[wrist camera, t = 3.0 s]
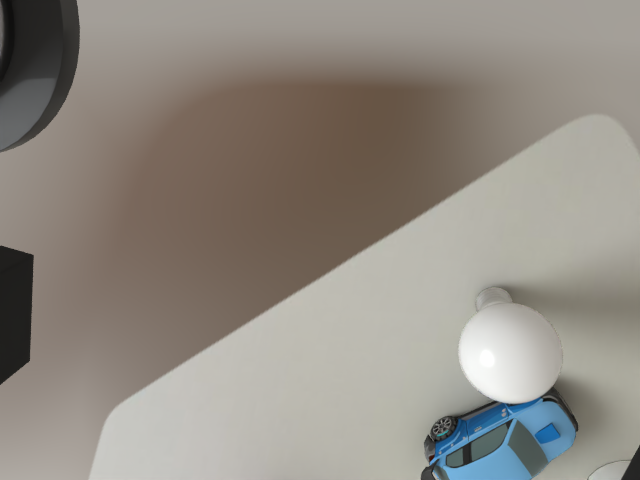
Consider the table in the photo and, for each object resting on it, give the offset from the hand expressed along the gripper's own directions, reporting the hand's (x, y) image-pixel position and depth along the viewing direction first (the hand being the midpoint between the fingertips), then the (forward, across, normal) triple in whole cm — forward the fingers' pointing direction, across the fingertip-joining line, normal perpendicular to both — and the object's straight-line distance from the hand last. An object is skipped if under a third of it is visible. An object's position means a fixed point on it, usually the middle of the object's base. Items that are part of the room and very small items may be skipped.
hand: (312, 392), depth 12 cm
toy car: (+31, +15, -20) cm, 40 cm away
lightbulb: (+31, +11, -10) cm, 34 cm away
